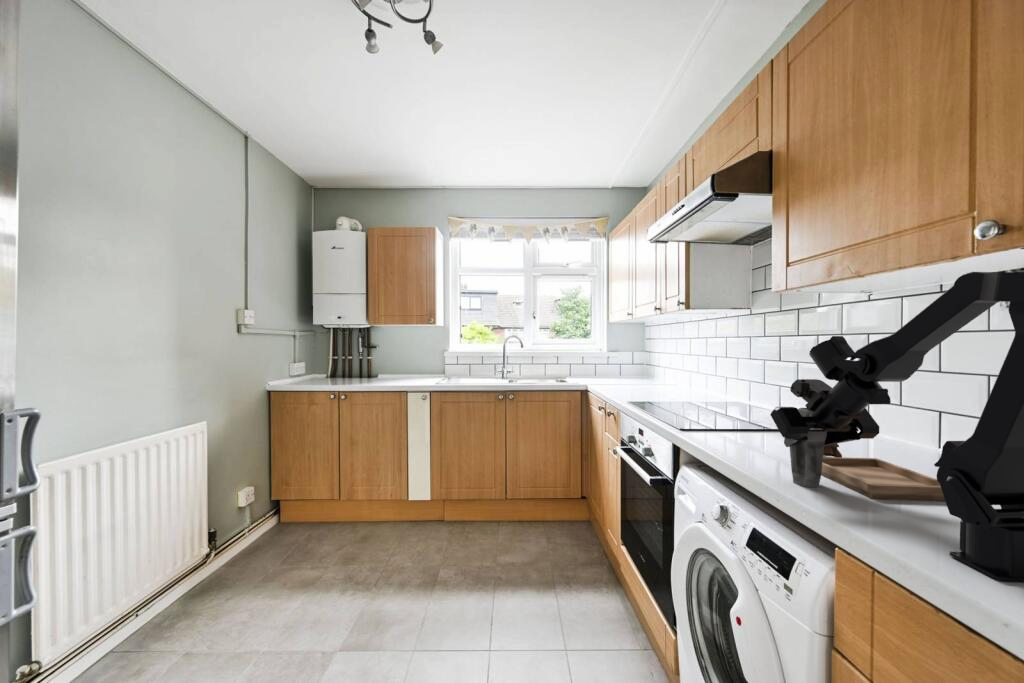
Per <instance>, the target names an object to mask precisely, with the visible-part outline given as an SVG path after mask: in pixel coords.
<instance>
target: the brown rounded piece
mask: <svg viewBox="0 0 1024 683" xmlns="http://www.w3.org/2000/svg"><path fill="white" fill-rule="evenodd" d="M839 448H840V445H839V443H837V444H832V445H827V446H824V454H823V457H842V458H843V454H842V453H841V452H840V451H839Z"/></svg>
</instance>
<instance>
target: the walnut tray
mask: <svg viewBox="0 0 1024 683" xmlns="http://www.w3.org/2000/svg"><path fill="white" fill-rule="evenodd" d="M822 476H823V477H824V478H826V479H829V480H831V481H833V482H835V483H837V484H839V485H841V486H842V487H843V486H844V487H845V488H848V489H850V490H852V491H854V492H856V493H858V494H860V495H862V496H865V497H867V498H869V499H871V500H898V501H899V500H900V501H931V502H932V501H934V502H946V501H945V498H944V495H943V492H942V489H941V486H940V483H938V482H937V478H935V477H931V476H928V475H925V474H923V473H920V472H916V471H914V470H911V469H908V468H906V467H903V466H899V465H897V464H893V463H891V462H888V461H885V460H882V459H880V458H875V457H874V458H873V457H871V458H870V457H843V456H842V457H833V456H823V462H822V471H821V477H822Z"/></svg>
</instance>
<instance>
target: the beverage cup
mask: <svg viewBox="0 0 1024 683" xmlns="http://www.w3.org/2000/svg"><path fill="white" fill-rule="evenodd" d="M797 409H798V411H799V412H800V414H801V416H802V417H811V416H810V414H811V413H812V412H811V410H808V409H807V408H806V407H800V408H797ZM806 436H807V437H808V439H809V440H807V441H804V442H801V443H798V444H796V445H793V446H790V447H789V455H790V467H791V475H792V483H793V484H796V485H798V486H802V487H807V488H819V487H820V482H821V479H822V478H821V477H822V475H821V471H822V462H823V457H824V456H823V454H824V445H825V440H826V437H827V431H823V429H810V431H809V432H808V434H807V435H806Z"/></svg>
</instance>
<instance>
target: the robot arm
mask: <svg viewBox="0 0 1024 683" xmlns="http://www.w3.org/2000/svg"><path fill="white" fill-rule="evenodd" d="M1000 302H1006V303H1009V305H1008V313H1009V314H1008V315H1009V317H1010V320H1011V323H1012V326H1013V328H1014V337H1013V340H1012V342H1011V344H1010V347H1008V348H1009V349H1008V351H1007V354H1006V356H1005V357H1004V360H1003V363H1002V365H1001V367H1000V370H999V372H998V374H997V377H996V380H995V381H994V384H993V387H992V389H991V391H990V393H989V396H988V398H987V400H986V403H985V406H984V407H983V409H982V413H981V415H980V417H979V420H978V422H977V423H976V426H975V429H974V431H973V433H972V435H971V436H969V437H968V438H967V439H966V440H946V442H944V444H943V446H942V449H941V450H942V451H941V455H940V457H939V458H938V461H936V462H935V463H934V464H933V466H934V467H935V468H938V469H937V471H936V479H937V482H938V483H940V486H941V489H942V492H943V495H944V498H945V501H944V502H945V504H946V506H947V510H948V512H949V515H951V516H953V517H956V518H958V519H960V520H961V521H960V522H959V550H960V551H955V550H954V551H953V550H951V551H949V556H950V557H952V558H954V559H957V561H960V562H962V563H964V564H965V565H968V566H970V567H972V568H974V569H976V570H977V571H979V572H981V573H983V574H985V575H987V576H989V577H991V578H992V579H995V580H998V581H1002V582H1003V581H1004V582H1024V270H1023V271H1006V272H1005V271H1003V272H1001V271H1000V272H999V271H970V272H967V273H964V274H962V275H961V276H958V278H956V280H955V281H954V283H953V285H952V286H951V287H949V289H947V290H946V291H945V292H944V293H943V294H941V295H940V296H939V297H937V298H936V299H935V300H934V301H932V302H931V303H930V304H929V305H928V306H926V307H925V308H924V309H923V310H921V311H920V312H919V313H917V314H916V315H914V317H913V318H911V319H910V320H909V321H908V322H907V323H905V324H904V325H903V326H902V327H900V328H898V330H897V331H896V332H895V331H894V333H892V334H890V335H888V336H885V337H882V338H879V339H876V340H873V341H871V342H869V343H867V344H865V345H863V346H862V347H860V348H858V349H857V350H856V351H854V350H853V348H852V346H850V344H849V343H848V342H847V340H846V338H845V337H844V336H843V335H832V336H831V337H830V339H827V340H823V341H820V342H819V343H818V344H816V345H814V346H812V347H811V348H810V351H809V357H810V358H811V359H812V361H813V362H814V364H815V365H816V366H817V367H818V370H819V371H820V372H821V373H822V374H823V376H824V378H825V379H827V380H831V381H836V382H837V383H836V384H835V385H834V386H833V387H832V386H830V385H829V384H828V383H826V382H825V381H823V380H821V379H818V378H817V379H814V378H813V379H811V378H810V379H807V378H806V379H804V378H801V379H796V380H794V381H793V382H792V383H791V386H790V389H789V390H790V393H792V394H793V395H794V396H795V397H797V398H801V399H803V401H805V402H806V404H805V405H804V406H805V408H807V409H808V410H811V412H812V413H811V414H810V416H811V417H802V416H801V414H800V412H799V411H798V409H799V408H797V407H794V406H775V407H774V408H773V410H772V411H771V412H770V417H771V419H772V421H773V422H774V424H775V426H776V428H777V429H778V432H779V433H780V435H781V436H782V438H784V440H783V444H784V446H785V447H786V448H790V446H793V445H796V444H798V443H801V442H804V441H807V440H809V439H808V437H807V436H806V435H807V434H808V432H809V431H810V429H823V431H827V437H826V440H825V445H824V446H827V445H832V444H842V443H847V442H853V441H859V440H862V439H867V440H868V439H871V440H872V439H874V438H876V437H877V436H878V435H879V434H880V425H879V424H878V423H877V421H876V420H875V419H874V417H873V416H872V415H871V413H870V412H869V411H868V410H867V407H868V406H869V405H891V396H890V395H889V389H888V388H883V386H882V385H881V384H880V383H881V382H883V383H885V382H886V383H887V382H888V383H892V382H893V383H899V382H905V381H907V380H909V378H911V377H912V376H913V375H914V373H916V372H917V371H918V370H919V368H921V367H922V365H923V363H924V359H925V356H926V355H927V354H928V353H929V352H930V351H931V350H932V349H934V348H935V347H936V346H938V345H939V344H941V343H942V342H944V341H945V340H946V339H948V338H950V337H951V336H952V335H954V334H956V332H959V330H960V329H962V328H964V327H965V326H966V325H968V324H969V323H970V322H972V321H973V320H975V319H976V318H978V317H979V316H981V315H982V314H983V313H984V312H986V311H987V310H989V309H990V308H992V307H993V306H994V305H996V304H998V303H1000ZM879 382H880V383H879ZM993 506H1000V508H994V507H993Z"/></svg>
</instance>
